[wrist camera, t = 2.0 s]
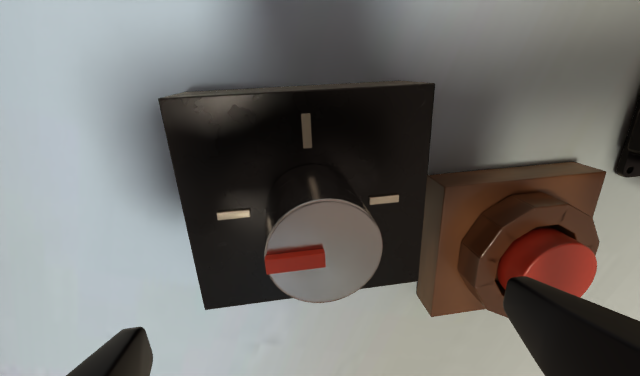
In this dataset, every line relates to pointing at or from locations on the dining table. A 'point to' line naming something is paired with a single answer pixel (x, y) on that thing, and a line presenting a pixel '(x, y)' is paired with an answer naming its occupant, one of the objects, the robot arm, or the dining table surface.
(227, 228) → the panel
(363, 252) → the knob
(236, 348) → the dining table surface
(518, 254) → the red push button
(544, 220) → the button block
